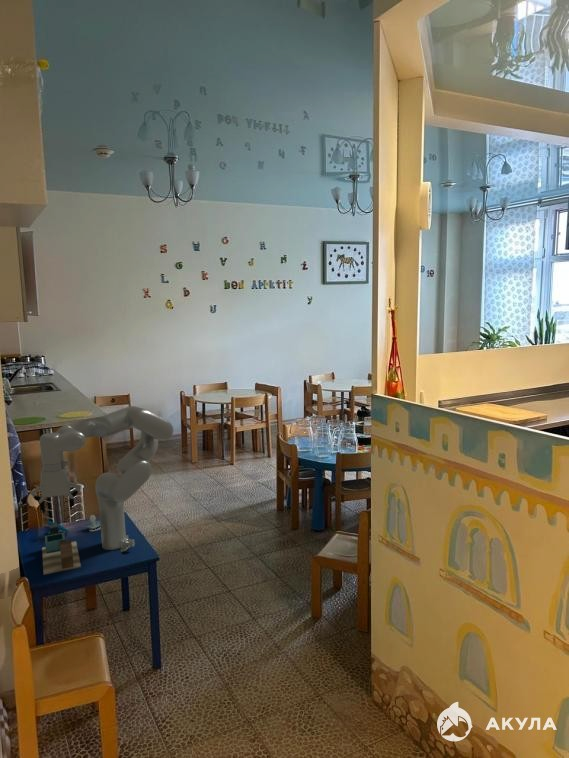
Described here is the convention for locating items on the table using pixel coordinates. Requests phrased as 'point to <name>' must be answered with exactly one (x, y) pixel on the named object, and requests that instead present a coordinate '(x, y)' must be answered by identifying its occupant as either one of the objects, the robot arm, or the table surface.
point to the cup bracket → (53, 539)
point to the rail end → (66, 554)
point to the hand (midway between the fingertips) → (57, 509)
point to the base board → (58, 560)
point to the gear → (58, 527)
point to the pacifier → (93, 524)
